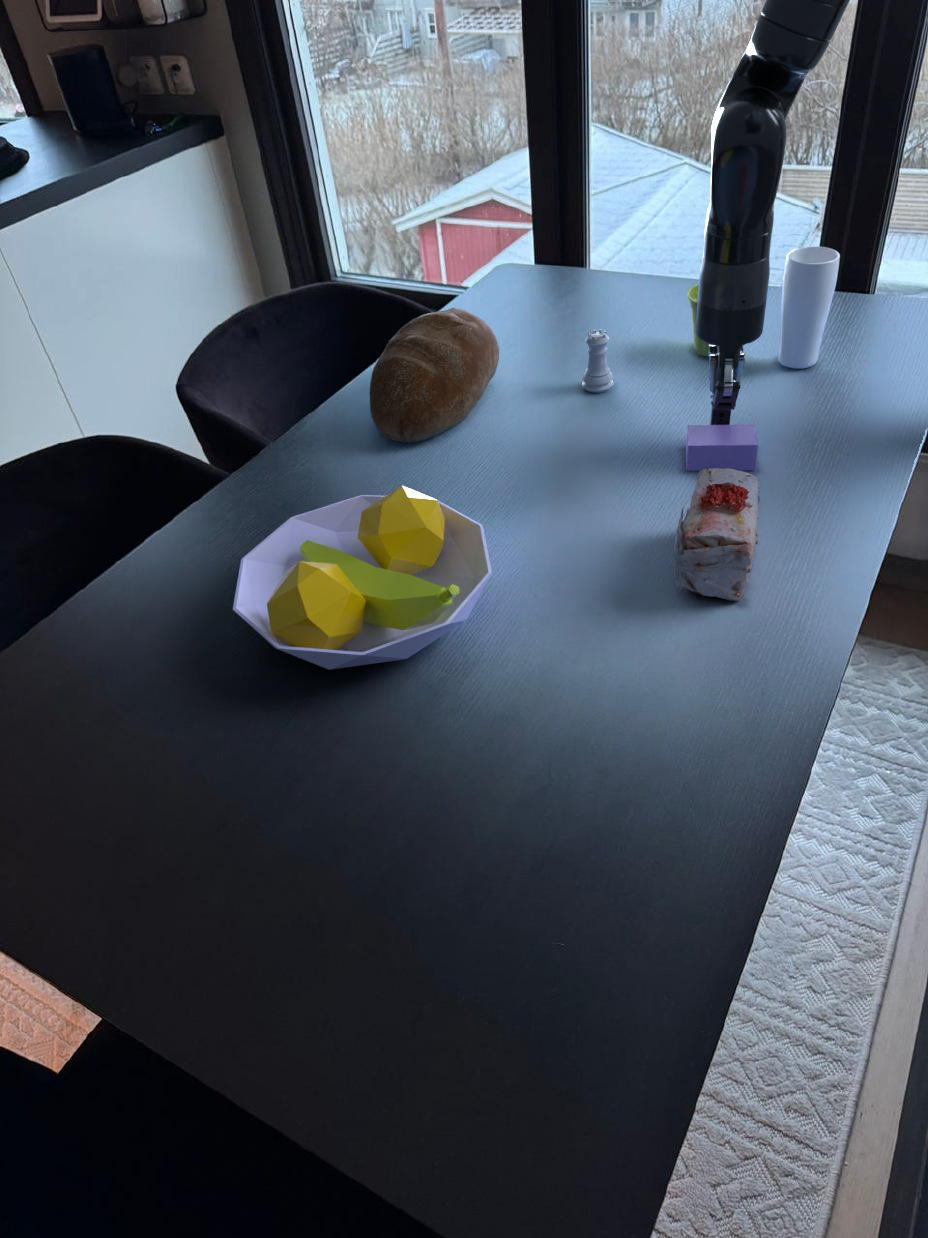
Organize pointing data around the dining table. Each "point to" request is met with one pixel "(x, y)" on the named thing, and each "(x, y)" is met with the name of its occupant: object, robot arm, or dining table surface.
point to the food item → (718, 535)
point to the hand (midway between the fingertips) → (719, 430)
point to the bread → (432, 374)
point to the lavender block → (721, 447)
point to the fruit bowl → (364, 579)
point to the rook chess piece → (597, 364)
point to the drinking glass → (806, 303)
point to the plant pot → (698, 343)
